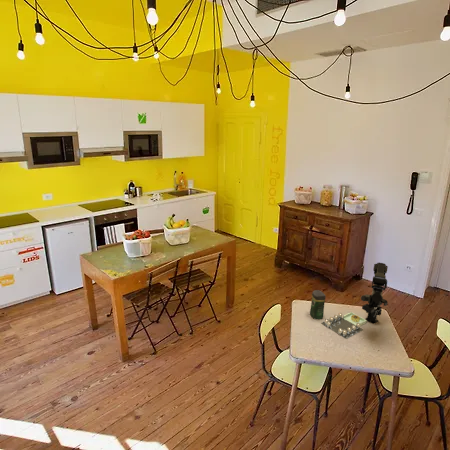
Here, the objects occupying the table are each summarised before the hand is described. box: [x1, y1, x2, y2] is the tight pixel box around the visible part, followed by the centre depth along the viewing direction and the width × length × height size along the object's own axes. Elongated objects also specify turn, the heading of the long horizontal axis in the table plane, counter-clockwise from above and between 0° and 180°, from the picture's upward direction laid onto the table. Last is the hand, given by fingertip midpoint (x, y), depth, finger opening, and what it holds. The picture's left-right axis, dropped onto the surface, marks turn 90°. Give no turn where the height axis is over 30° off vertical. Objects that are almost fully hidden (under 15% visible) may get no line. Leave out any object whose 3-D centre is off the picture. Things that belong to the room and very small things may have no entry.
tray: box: [342, 311, 368, 327], centre depth 229 cm, size 9×12×2 cm
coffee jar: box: [309, 289, 327, 320], centre depth 231 cm, size 10×8×19 cm
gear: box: [351, 314, 361, 322], centre depth 229 cm, size 6×6×2 cm
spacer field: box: [320, 312, 364, 340], centre depth 221 cm, size 18×20×4 cm
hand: (372, 316), depth 213 cm, fingers closed
